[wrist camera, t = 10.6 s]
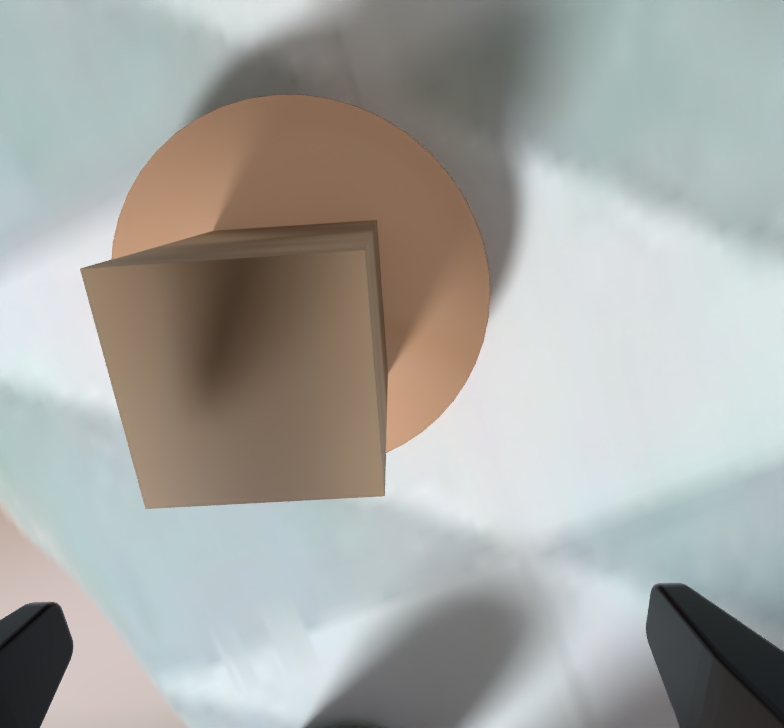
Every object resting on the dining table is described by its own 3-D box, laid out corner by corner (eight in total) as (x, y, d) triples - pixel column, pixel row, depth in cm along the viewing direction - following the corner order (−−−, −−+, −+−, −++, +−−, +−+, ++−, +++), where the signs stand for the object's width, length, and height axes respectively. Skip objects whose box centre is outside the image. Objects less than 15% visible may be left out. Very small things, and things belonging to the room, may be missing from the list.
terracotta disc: (474, 96, 17) (490, 80, 14) (476, 421, 21) (489, 459, 18) (118, 121, 17) (64, 109, 14) (188, 437, 21) (157, 476, 18)
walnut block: (376, 219, 15) (364, 249, 9) (387, 373, 17) (384, 495, 10) (213, 230, 15) (80, 268, 9) (240, 382, 17) (145, 508, 11)
